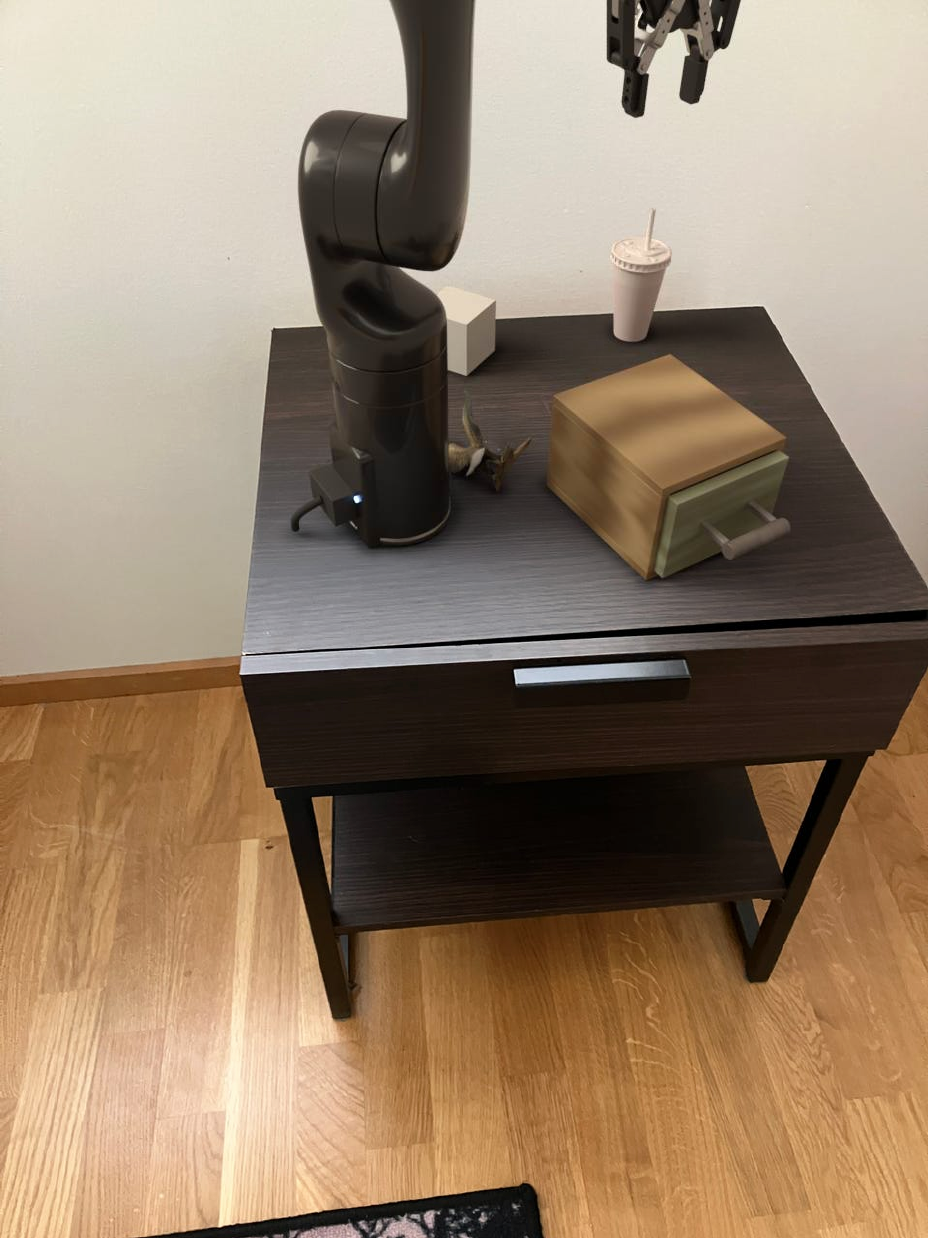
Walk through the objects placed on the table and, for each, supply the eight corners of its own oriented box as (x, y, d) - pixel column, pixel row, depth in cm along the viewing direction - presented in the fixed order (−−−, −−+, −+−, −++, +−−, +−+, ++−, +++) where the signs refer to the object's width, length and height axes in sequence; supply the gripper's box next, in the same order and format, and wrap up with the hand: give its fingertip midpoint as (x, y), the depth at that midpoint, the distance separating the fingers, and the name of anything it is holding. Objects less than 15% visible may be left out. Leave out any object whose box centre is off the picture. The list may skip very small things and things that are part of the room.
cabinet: (760, 528, 85) (787, 437, 78) (645, 580, 80) (663, 488, 73) (654, 442, 94) (670, 353, 87) (546, 485, 89) (553, 394, 82)
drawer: (802, 559, 81) (827, 485, 75) (695, 610, 77) (714, 535, 71) (667, 449, 91) (680, 377, 86) (567, 489, 87) (574, 416, 82)
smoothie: (656, 350, 105) (677, 225, 95) (598, 344, 106) (612, 219, 96) (660, 321, 110) (680, 198, 99) (604, 315, 110) (618, 192, 100)
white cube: (419, 360, 104) (417, 309, 100) (448, 335, 108) (447, 285, 103) (466, 376, 102) (466, 324, 98) (495, 350, 105) (496, 299, 101)
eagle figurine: (541, 455, 90) (473, 402, 94) (525, 425, 84) (453, 369, 87) (488, 516, 91) (422, 462, 94) (468, 491, 84) (398, 433, 87)
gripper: (727, -129, 83) (694, 83, 96) (593, -111, 78) (575, 110, 90) (789, -114, 79) (745, 106, 91) (651, -94, 74) (624, 136, 86)
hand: (661, 107), depth 91 cm, fingers open, 6 cm apart
